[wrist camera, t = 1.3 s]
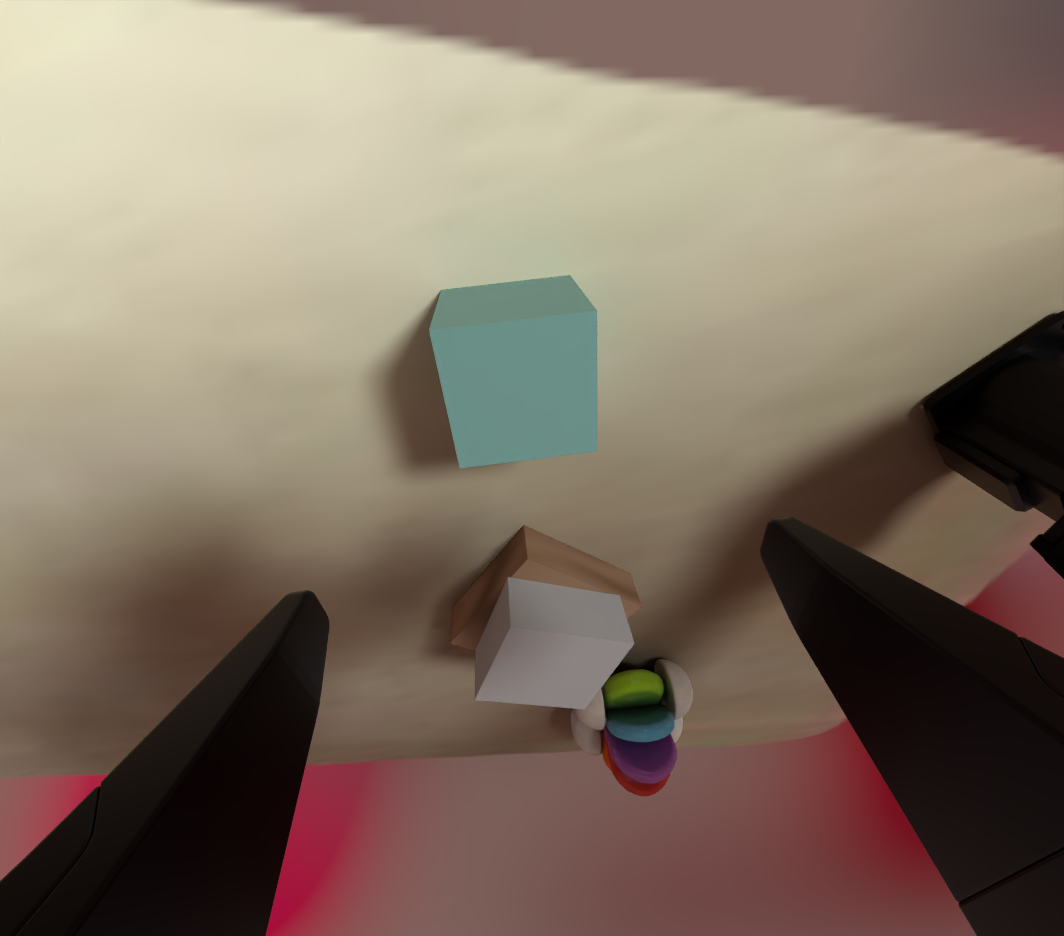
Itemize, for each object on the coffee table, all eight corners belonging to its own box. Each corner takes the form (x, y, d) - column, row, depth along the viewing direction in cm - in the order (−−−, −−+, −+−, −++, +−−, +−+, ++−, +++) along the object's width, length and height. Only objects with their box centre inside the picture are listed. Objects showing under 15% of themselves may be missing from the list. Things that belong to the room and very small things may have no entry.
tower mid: (507, 576, 23) (510, 627, 20) (619, 595, 25) (634, 643, 22) (475, 649, 26) (474, 699, 24) (575, 661, 28) (584, 709, 26)
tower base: (523, 519, 25) (527, 559, 22) (628, 567, 28) (642, 606, 25) (452, 601, 28) (450, 643, 26) (553, 635, 31) (559, 676, 29)
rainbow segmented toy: (567, 717, 38) (583, 822, 32) (570, 651, 32) (590, 763, 26) (664, 707, 38) (698, 808, 32) (684, 640, 32) (730, 747, 27)
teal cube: (441, 289, 17) (428, 330, 13) (569, 274, 17) (597, 310, 13) (464, 405, 20) (459, 468, 16) (573, 392, 20) (597, 451, 16)
